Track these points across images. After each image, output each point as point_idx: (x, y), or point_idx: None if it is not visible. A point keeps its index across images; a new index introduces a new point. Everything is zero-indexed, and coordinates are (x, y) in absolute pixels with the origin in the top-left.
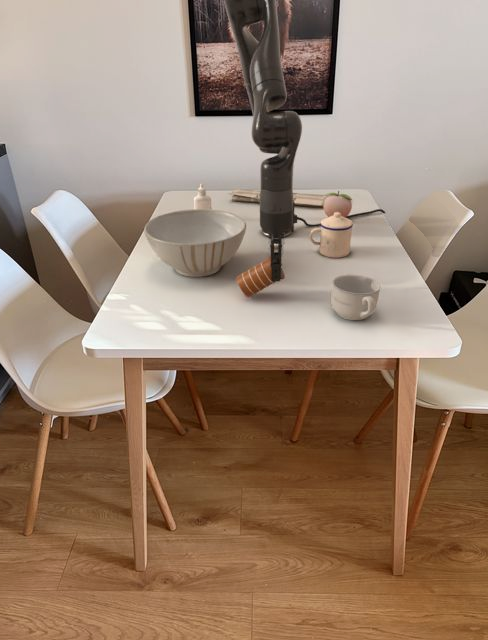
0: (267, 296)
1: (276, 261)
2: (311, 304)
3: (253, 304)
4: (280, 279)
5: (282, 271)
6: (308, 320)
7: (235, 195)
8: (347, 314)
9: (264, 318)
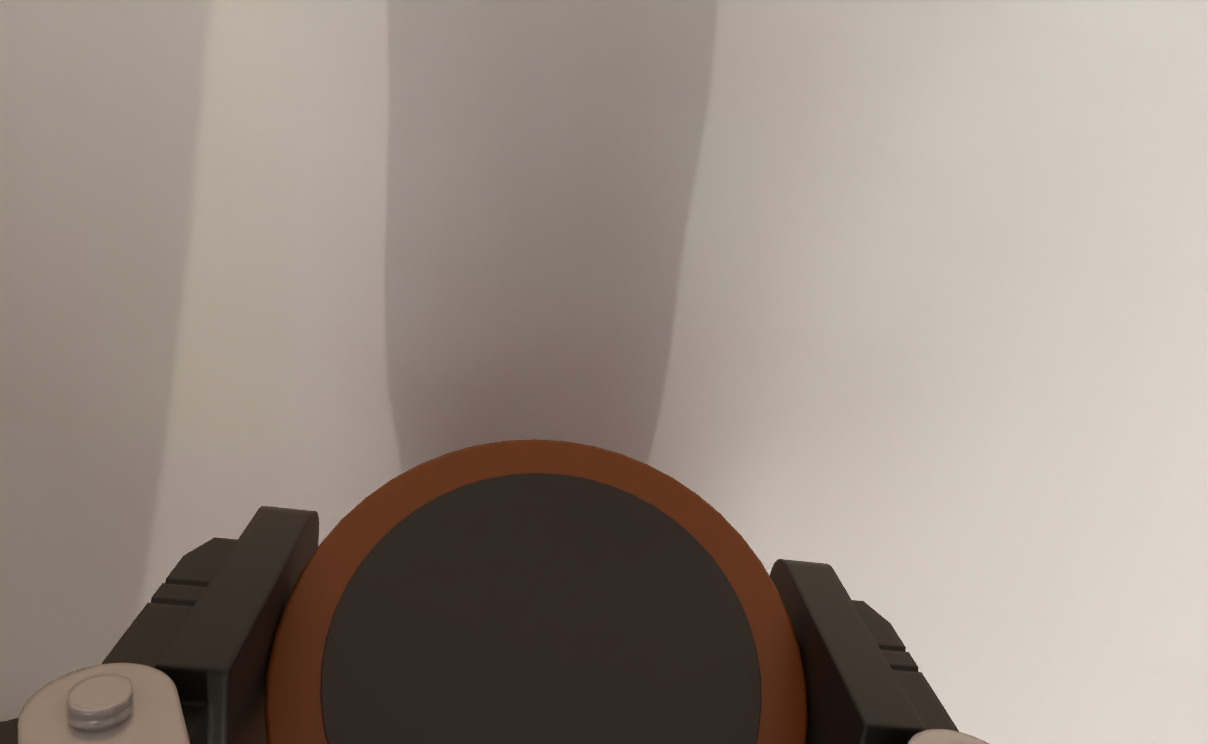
0: None
1: (394, 704)
2: (793, 24)
3: None
4: (832, 574)
5: (488, 502)
6: (1168, 146)
7: None
8: None
9: (999, 590)
